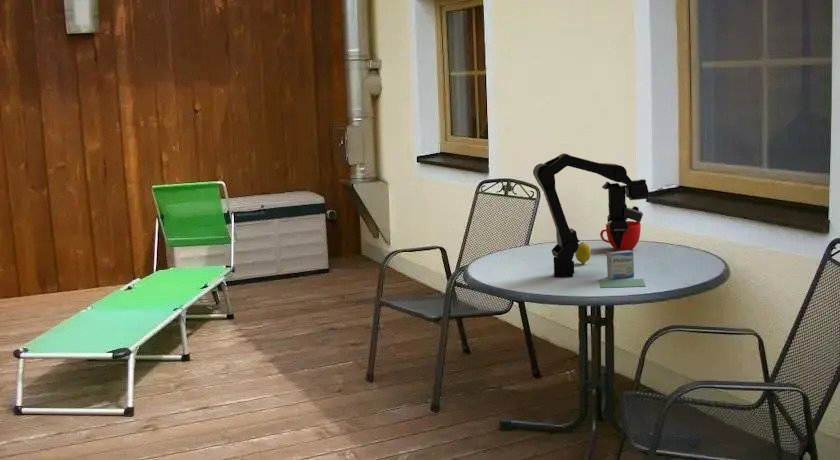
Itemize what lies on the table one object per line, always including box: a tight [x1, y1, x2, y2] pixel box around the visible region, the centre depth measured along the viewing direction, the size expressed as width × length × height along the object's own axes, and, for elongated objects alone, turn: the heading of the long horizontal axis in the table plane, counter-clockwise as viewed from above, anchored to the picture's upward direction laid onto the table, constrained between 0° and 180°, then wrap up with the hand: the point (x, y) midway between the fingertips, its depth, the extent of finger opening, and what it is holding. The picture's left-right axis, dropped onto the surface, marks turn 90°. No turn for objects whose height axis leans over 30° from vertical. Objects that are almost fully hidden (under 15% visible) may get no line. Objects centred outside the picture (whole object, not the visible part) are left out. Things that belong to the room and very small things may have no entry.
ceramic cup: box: [599, 220, 642, 251], centre depth 367 cm, size 13×17×10 cm
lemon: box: [574, 241, 592, 265], centre depth 347 cm, size 6×6×8 cm
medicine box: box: [606, 250, 635, 280], centre depth 322 cm, size 8×4×9 cm, turn 101°
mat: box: [599, 278, 646, 289], centre depth 313 cm, size 14×10×1 cm
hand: (618, 246), depth 331 cm, fingers open, 9 cm apart
